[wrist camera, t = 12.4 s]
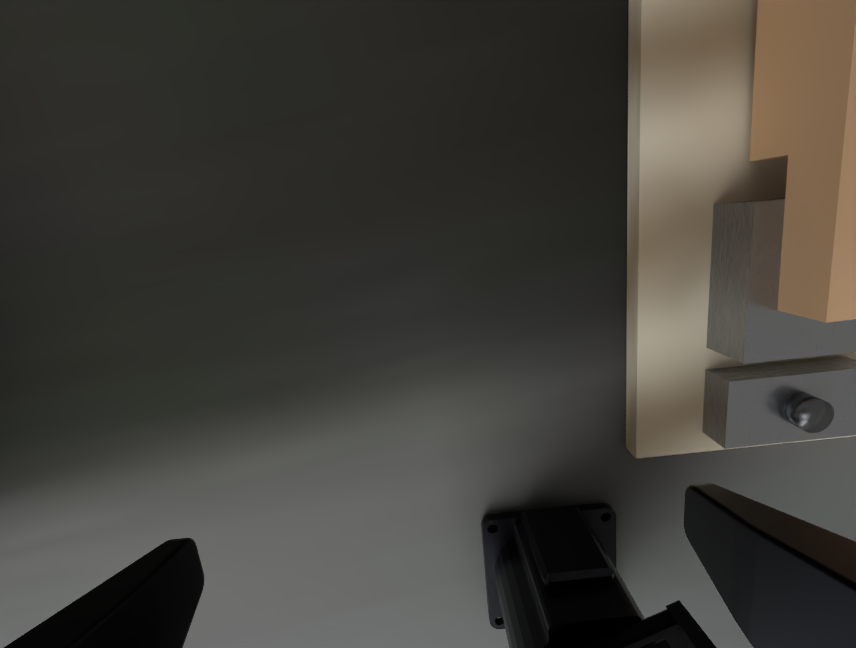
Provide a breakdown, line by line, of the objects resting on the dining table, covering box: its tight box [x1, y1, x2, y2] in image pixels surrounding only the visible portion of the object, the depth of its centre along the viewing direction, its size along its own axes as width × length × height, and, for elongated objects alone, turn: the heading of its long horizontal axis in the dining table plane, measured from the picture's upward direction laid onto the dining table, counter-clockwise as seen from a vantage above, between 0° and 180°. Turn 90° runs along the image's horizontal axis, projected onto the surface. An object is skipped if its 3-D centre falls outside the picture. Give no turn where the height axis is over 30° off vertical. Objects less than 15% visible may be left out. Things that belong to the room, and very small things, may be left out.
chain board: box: [626, 0, 856, 459], centre depth 17 cm, size 32×12×1 cm, turn 6°
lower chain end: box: [702, 197, 856, 449], centre depth 18 cm, size 10×6×2 cm, turn 6°
